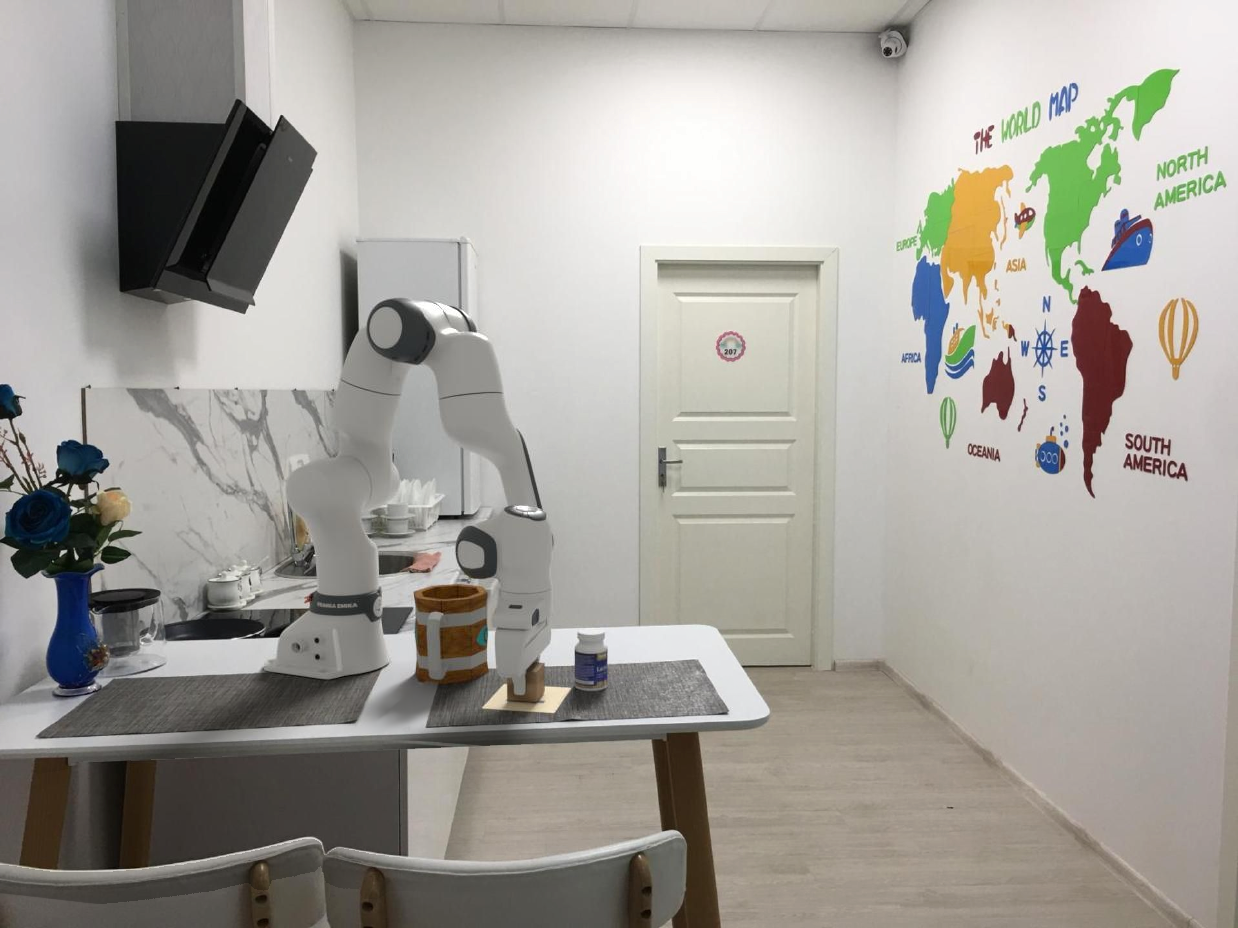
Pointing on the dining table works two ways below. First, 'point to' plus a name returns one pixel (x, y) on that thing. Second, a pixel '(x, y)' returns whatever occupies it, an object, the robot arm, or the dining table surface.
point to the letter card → (544, 704)
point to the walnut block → (529, 684)
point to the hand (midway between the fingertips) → (526, 686)
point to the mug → (451, 633)
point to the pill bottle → (591, 660)
